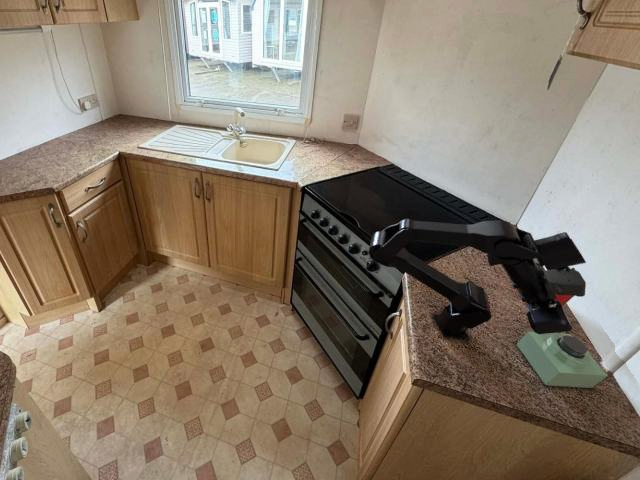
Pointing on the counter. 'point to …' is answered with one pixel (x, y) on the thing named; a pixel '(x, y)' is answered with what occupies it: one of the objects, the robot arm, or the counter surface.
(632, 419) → the counter surface
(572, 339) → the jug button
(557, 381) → the green flat block
